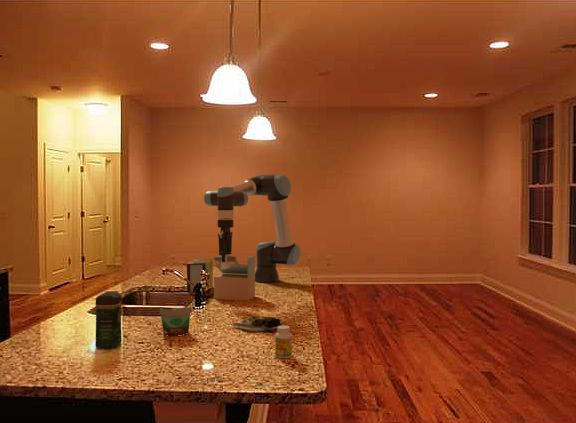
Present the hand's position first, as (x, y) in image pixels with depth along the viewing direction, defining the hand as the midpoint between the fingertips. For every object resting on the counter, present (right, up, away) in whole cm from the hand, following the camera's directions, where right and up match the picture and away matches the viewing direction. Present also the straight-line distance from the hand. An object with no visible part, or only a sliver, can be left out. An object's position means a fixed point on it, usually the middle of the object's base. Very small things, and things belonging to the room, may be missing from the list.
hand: (225, 268), depth 239 cm
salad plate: (+20, -19, -41) cm, 50 cm away
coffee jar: (-32, -19, -66) cm, 76 cm away
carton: (+3, -16, +13) cm, 21 cm away
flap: (+2, -1, +7) cm, 8 cm away
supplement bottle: (+28, -20, -77) cm, 84 cm away
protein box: (-18, -16, +33) cm, 41 cm away
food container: (-11, -19, -53) cm, 57 cm away
